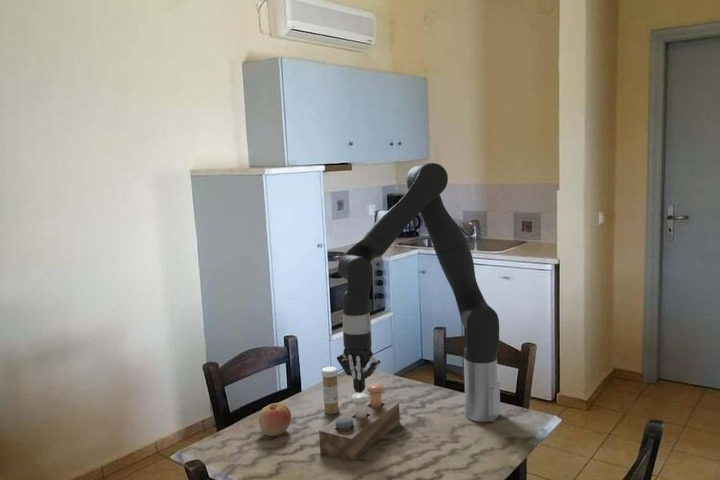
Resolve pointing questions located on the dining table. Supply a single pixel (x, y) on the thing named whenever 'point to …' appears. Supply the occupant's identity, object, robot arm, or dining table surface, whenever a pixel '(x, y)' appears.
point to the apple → (274, 419)
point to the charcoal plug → (344, 424)
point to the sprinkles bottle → (330, 390)
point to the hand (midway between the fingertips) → (359, 391)
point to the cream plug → (360, 405)
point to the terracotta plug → (375, 395)
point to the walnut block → (359, 431)
